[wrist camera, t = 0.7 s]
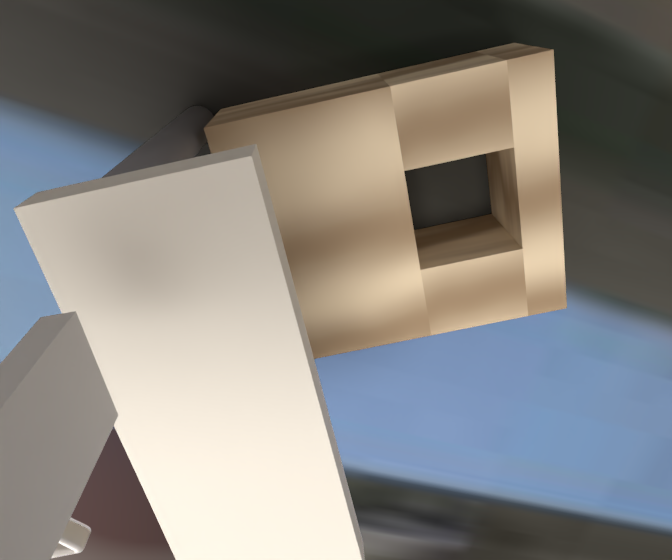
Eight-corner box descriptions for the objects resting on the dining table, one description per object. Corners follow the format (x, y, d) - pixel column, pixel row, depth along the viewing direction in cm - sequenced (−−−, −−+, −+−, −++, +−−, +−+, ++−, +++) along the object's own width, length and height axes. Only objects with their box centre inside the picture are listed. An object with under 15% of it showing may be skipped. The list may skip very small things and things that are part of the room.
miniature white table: (173, 100, 34) (13, 208, 16) (284, 75, 33) (251, 155, 15) (248, 337, 40) (197, 605, 22) (341, 318, 40) (366, 575, 22)
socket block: (220, 109, 34) (203, 128, 29) (513, 42, 33) (553, 49, 28) (280, 317, 40) (275, 366, 34) (531, 266, 39) (566, 308, 34)
